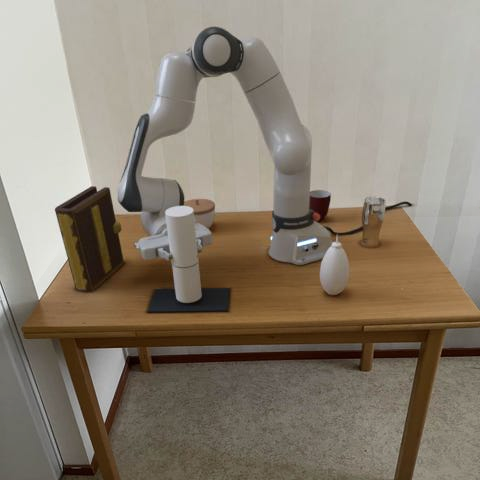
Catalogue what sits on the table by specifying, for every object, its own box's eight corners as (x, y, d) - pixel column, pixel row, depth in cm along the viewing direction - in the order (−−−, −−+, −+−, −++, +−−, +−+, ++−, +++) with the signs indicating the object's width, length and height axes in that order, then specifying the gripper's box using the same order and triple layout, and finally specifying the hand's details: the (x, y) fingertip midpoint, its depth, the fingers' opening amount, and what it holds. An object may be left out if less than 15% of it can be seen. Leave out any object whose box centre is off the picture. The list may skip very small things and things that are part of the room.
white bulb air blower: (314, 289, 140) (317, 230, 130) (339, 284, 142) (344, 226, 132) (325, 302, 134) (329, 242, 124) (351, 297, 135) (358, 237, 125)
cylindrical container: (203, 289, 140) (195, 205, 125) (199, 303, 134) (190, 216, 120) (179, 289, 140) (168, 205, 126) (173, 302, 134) (162, 216, 120)
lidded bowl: (203, 238, 172) (200, 208, 165) (175, 231, 177) (171, 202, 171) (223, 225, 180) (221, 196, 174) (195, 219, 186) (193, 191, 180)
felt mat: (230, 289, 142) (230, 287, 142) (227, 311, 132) (227, 310, 132) (155, 290, 143) (154, 288, 143) (147, 312, 133) (147, 311, 133)
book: (94, 293, 143) (75, 212, 129) (70, 289, 146) (48, 209, 132) (131, 259, 160) (117, 184, 146) (108, 256, 163) (93, 182, 149)
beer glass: (357, 246, 161) (361, 203, 153) (361, 238, 167) (365, 195, 158) (378, 249, 159) (384, 205, 151) (382, 240, 164) (387, 197, 156)
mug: (300, 224, 178) (301, 198, 173) (300, 216, 185) (300, 190, 179) (330, 224, 177) (331, 197, 172) (328, 215, 184) (329, 189, 178)
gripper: (130, 232, 134) (145, 251, 123) (200, 217, 141) (219, 234, 130) (134, 253, 137) (149, 273, 127) (201, 237, 144) (220, 255, 134)
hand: (185, 253), depth 129 cm, fingers closed on cylindrical container, 7 cm apart
